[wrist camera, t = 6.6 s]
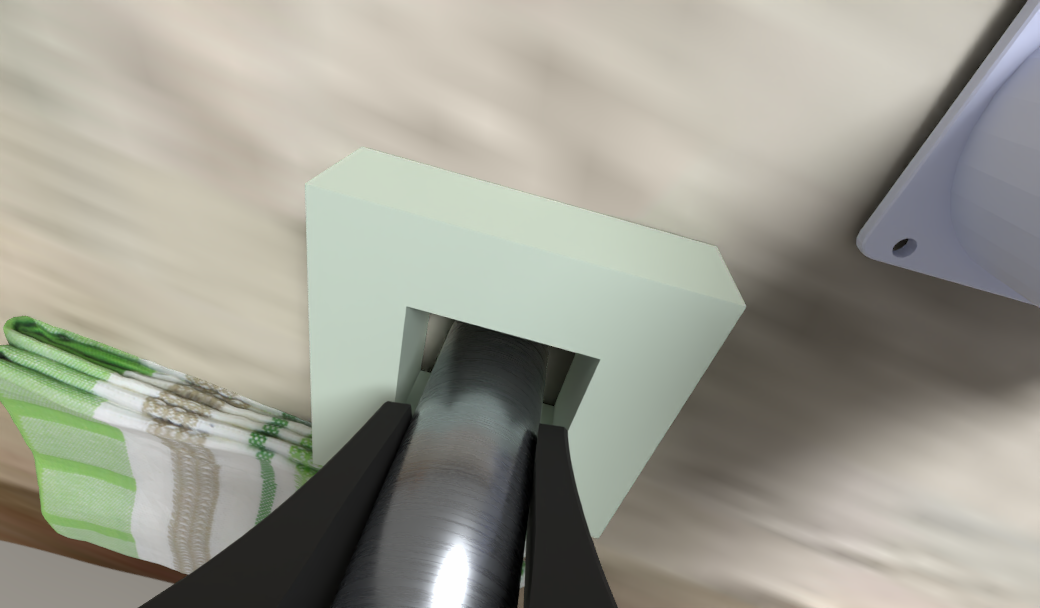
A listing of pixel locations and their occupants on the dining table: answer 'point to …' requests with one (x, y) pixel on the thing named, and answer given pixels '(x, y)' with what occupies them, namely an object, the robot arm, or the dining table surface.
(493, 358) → the peg
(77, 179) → the dining table surface
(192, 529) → the dish towel
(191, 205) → the dining table surface
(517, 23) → the dining table surface
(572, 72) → the dining table surface
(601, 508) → the socket
